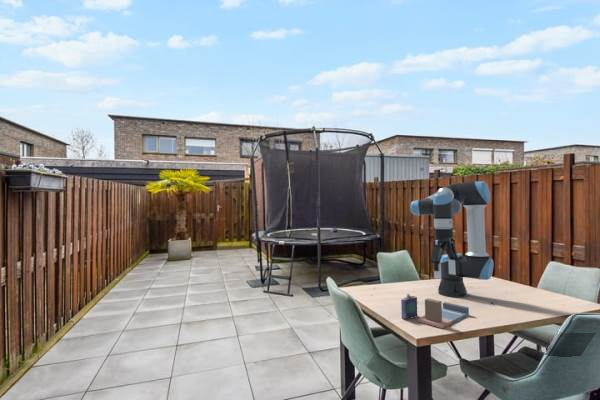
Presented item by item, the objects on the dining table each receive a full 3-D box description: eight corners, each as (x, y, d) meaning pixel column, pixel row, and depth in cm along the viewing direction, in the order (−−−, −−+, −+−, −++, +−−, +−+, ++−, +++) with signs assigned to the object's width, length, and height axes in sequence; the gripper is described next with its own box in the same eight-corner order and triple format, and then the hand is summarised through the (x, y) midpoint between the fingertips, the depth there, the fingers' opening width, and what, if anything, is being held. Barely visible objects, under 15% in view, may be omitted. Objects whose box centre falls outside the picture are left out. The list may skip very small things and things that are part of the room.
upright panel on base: (417, 321, 134) (417, 299, 135) (428, 316, 140) (427, 295, 140) (442, 328, 126) (441, 304, 126) (452, 323, 131) (451, 300, 132)
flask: (404, 320, 137) (403, 296, 138) (399, 318, 140) (398, 294, 140) (419, 316, 141) (418, 293, 142) (414, 314, 144) (413, 291, 145)
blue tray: (428, 317, 140) (428, 309, 140) (445, 309, 150) (445, 302, 150) (452, 323, 132) (452, 315, 132) (468, 315, 142) (468, 307, 142)
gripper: (438, 229, 124) (440, 282, 123) (464, 227, 140) (466, 273, 139) (420, 229, 130) (422, 279, 129) (447, 227, 146) (449, 271, 145)
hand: (445, 276), depth 134 cm, fingers open, 13 cm apart
